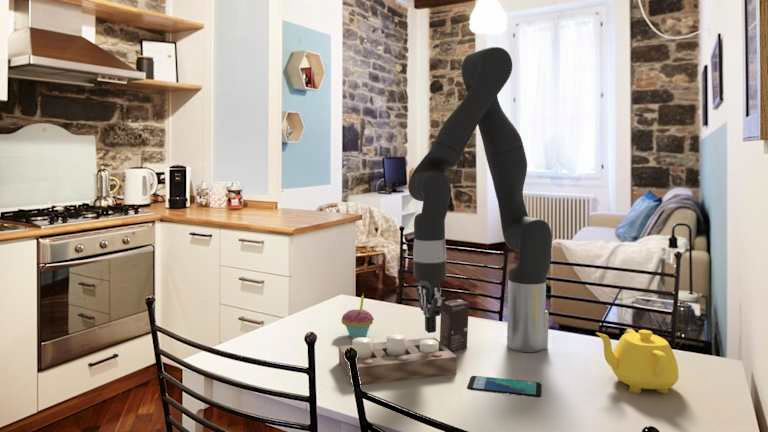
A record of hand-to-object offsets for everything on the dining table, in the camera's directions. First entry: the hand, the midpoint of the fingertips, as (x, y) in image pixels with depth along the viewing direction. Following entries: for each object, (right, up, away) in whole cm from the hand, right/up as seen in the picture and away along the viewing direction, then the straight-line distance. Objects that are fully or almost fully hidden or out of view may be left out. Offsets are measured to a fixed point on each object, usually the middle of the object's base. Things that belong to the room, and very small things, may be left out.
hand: (430, 331), depth 130 cm
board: (-8, -8, -1) cm, 12 cm away
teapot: (+42, -9, -11) cm, 45 cm away
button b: (-8, -5, -2) cm, 10 cm away
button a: (0, -7, +1) cm, 7 cm away
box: (+7, -7, +12) cm, 16 cm away
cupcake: (-18, -6, +22) cm, 29 cm away
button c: (-16, -6, -4) cm, 17 cm away
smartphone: (+15, -10, -12) cm, 21 cm away
